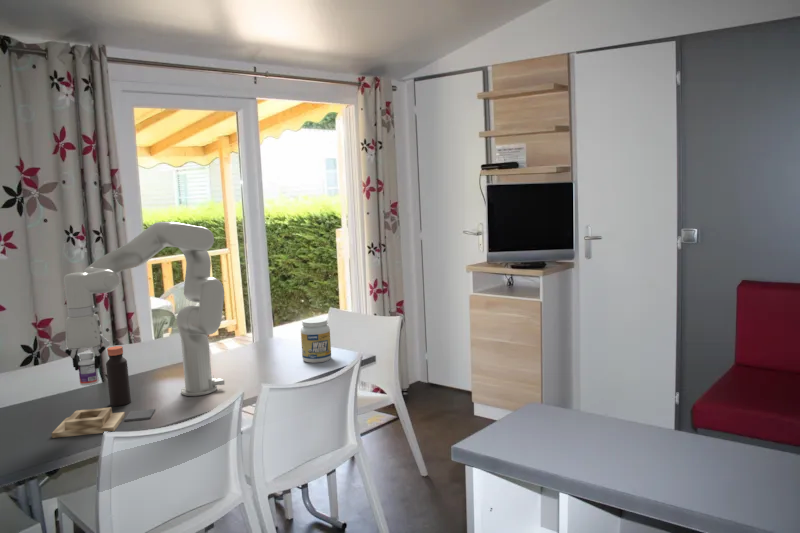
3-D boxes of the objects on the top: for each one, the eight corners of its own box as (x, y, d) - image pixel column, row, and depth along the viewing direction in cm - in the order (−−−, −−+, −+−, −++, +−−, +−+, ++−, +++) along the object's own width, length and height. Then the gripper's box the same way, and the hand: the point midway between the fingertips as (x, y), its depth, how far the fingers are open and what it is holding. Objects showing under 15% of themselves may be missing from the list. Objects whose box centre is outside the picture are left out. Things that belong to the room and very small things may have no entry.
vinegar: (118, 407, 229) (112, 351, 226) (106, 404, 232) (100, 349, 230) (135, 401, 234) (129, 346, 232) (123, 399, 238) (117, 344, 235)
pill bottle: (84, 382, 212) (81, 352, 211) (101, 380, 212) (98, 350, 212) (77, 386, 207) (74, 355, 206) (95, 385, 207) (91, 354, 206)
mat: (155, 410, 224) (155, 408, 223) (150, 418, 216) (150, 417, 216) (130, 413, 222) (130, 411, 222) (124, 421, 214) (124, 419, 214)
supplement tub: (309, 365, 271) (306, 324, 269) (298, 359, 281) (295, 320, 279) (336, 360, 277) (333, 320, 275) (324, 354, 287) (322, 315, 285)
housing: (125, 416, 219) (123, 404, 219) (113, 431, 206) (112, 419, 205) (67, 421, 216) (65, 410, 216) (52, 437, 203) (50, 425, 202)
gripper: (113, 307, 212) (119, 362, 214) (56, 312, 209) (63, 367, 212) (106, 312, 204) (113, 369, 207) (47, 316, 202) (55, 374, 204)
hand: (88, 367), depth 209 cm, fingers closed on pill bottle, 5 cm apart
